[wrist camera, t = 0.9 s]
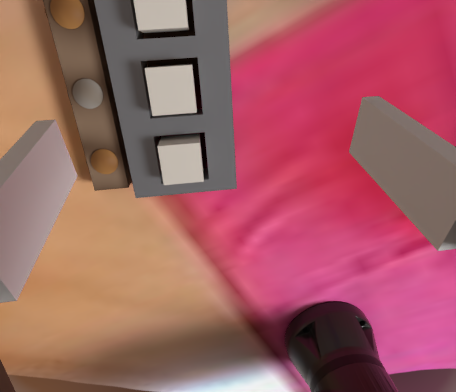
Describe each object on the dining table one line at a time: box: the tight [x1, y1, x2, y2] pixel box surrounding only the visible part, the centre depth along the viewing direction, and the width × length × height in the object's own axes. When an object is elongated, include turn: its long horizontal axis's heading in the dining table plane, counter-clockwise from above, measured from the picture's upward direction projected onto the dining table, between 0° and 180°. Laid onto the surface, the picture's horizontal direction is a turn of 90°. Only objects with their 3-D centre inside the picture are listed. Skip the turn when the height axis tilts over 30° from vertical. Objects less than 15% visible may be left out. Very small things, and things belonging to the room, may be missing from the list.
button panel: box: [94, 0, 237, 198], centre depth 33 cm, size 24×12×4 cm, turn 4°
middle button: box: [145, 64, 197, 116], centre depth 31 cm, size 4×4×4 cm
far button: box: [157, 134, 204, 185], centre depth 34 cm, size 4×4×4 cm
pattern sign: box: [43, 0, 132, 191], centre depth 33 cm, size 22×4×3 cm, turn 4°
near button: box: [134, 0, 189, 33], centre depth 28 cm, size 4×4×4 cm
